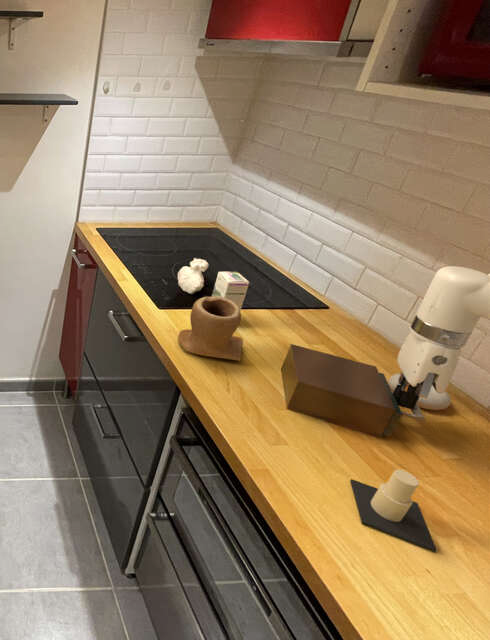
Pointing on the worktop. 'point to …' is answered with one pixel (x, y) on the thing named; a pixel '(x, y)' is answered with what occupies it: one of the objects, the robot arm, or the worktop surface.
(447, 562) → the worktop surface
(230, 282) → the syrup box
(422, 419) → the drawer
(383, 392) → the cabinet
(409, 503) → the cream stepped cylinder
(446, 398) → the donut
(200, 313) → the stone cup
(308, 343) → the worktop surface
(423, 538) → the mat
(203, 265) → the white lumpy blob
